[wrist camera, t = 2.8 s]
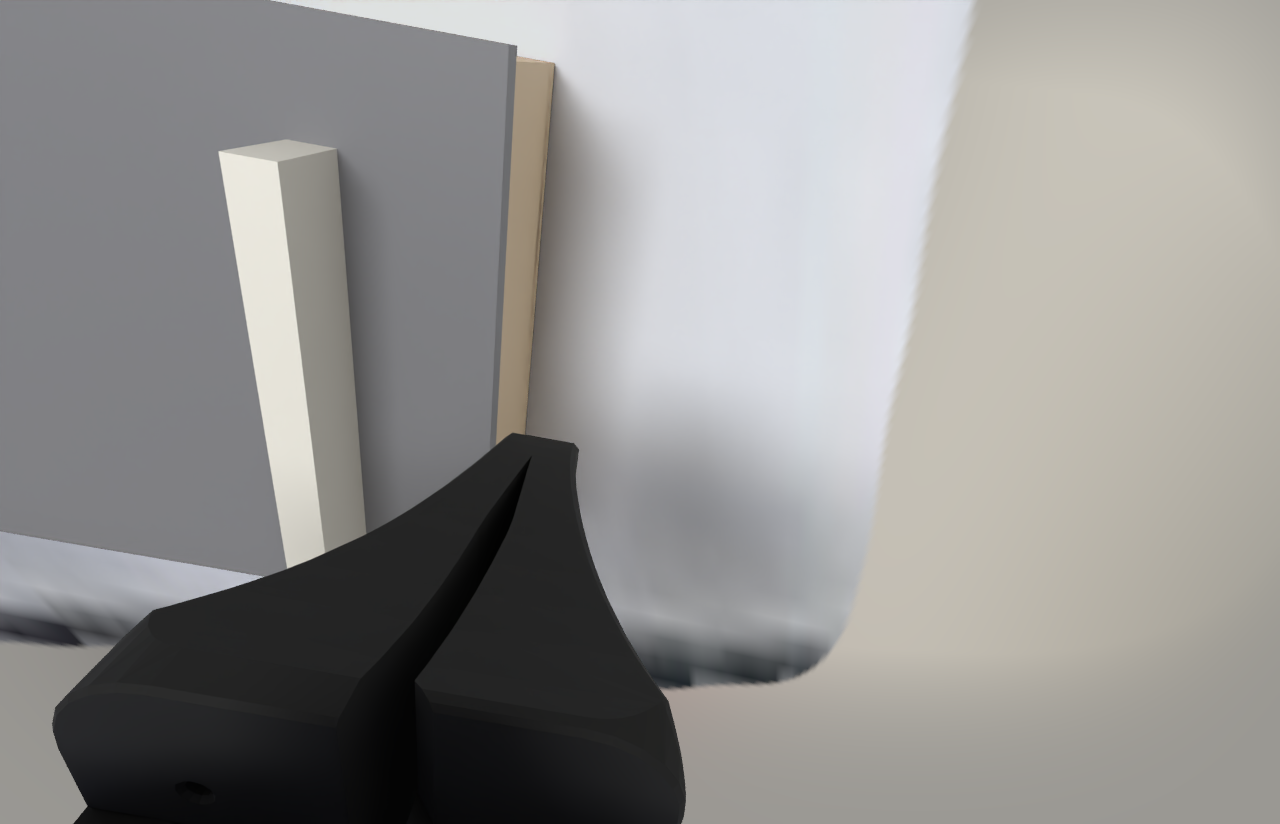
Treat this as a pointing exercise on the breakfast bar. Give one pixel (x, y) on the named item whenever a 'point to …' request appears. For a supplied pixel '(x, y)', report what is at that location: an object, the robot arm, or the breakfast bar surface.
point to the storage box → (523, 238)
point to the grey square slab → (244, 273)
